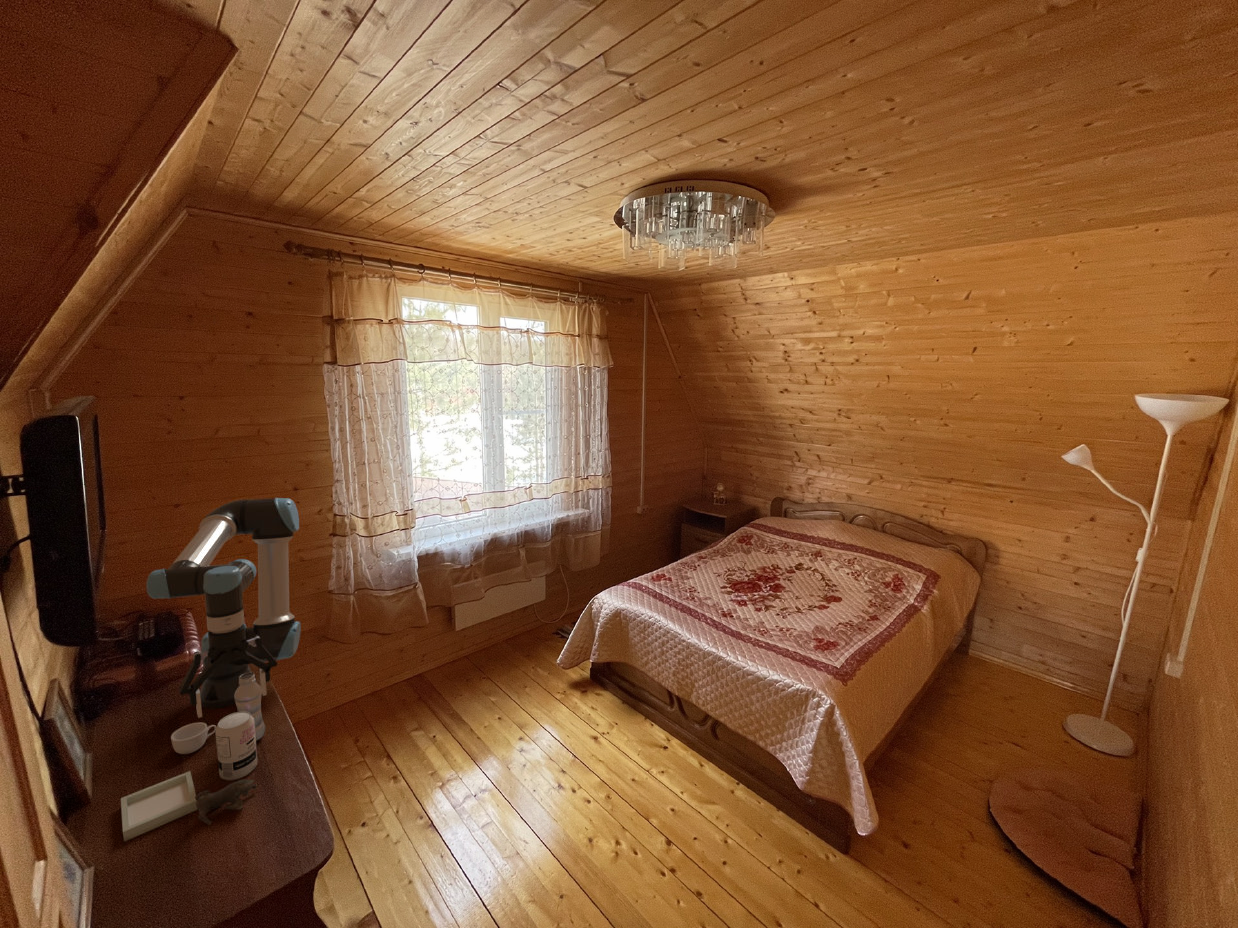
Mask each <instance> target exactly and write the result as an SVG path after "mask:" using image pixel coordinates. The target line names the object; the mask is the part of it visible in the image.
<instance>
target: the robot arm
mask: <svg viewBox="0 0 1238 928" xmlns="http://www.w3.org/2000/svg"><path fill="white" fill-rule="evenodd" d="M295 503H296V502H294V500H292V499H291V498H288V497H287V498H283V497H275V498H254V499H237V500H233V501H230V502H227V503H225V504H222V505H220V506H218V507H216V508H215V509H213V510H212V511H211V512H209V513H208V514H207V515H205V516H204V517H203V519H202V520H201V521H200V523H199V525H198V531H197V532H196V534H194V536H193V537H192V539H191V540H190V541H189V542H188V544H186V546H185V547H184V548H183V550H182V551H181V553H180V554H179V555H178V556H177V557H176V558H175V560H174V562H173V563H172V564H171V565H170V566H169V567H168V568H162V569H155V570H152V571H151V572H150V574H148V576H147V580H146V584H145V585H146V593H147V595H148V597H150V598H151V599H154V600H157V599H168V600H169V599H175V598H183V597H184V598H185V597H193V596H204V602H205V609H206V626H207V632H206V633H205V634H204V635H203V636H202V638H201V643H200V644H201V649H200V651H194V652H193V654H192V662H191V664H190V666H189V668H188V670H187V671H186V674H185V675H184V677H183V679H182V681H181V684H180V686H179V688H178V690H179V691H178V692H179V694H180V695H181V696H183V695H189V704H190V706H196V707H195V708H196V714H197V718H198V719H200V718H203V711H202V708H205V709H221V708H226V707H230V706H233V705H236V703H235V699H234V694H235V691H236V690H237V688H238V687H239V686H240V685H239V677H240V676H241V675H242V674H245V673H253V672H252V670H251V669H250V665H251V664H252V665H254V667H255V666H256V667H257V668H259V670H258V671H259V681H260V682H259V683H260V684H259V685H260V687H261V695H262V697H264V696H267V695H268V694H267V682H270V681H271V669H273V668H274V667H277V666H278V662H277V661H280V660H285V659H289V658H292V657H293V656H295V654H296V653H297V650H298V647H299V642H300V638H301V629H302V627H301V625H302V624H301V622H300V621H297V620H296V619H295V615H294V614H293V613H291V611H290V572H289V571H290V570H289V569H290V567H289V562H290V560H289V542H290V541H291V540H292V539H293V538H294V533H296V532H298V531H299V529H300V518H299V512H298V509H297V506H296V504H295ZM240 535H243V536H244V535H251V538H252V539H251V540H252V542H255V544H257V568H256V565H255V564H254V562H252V561H251V560H248V559H244V558H241V559H240V558H239V559H236V560H233V561H230V562H228V563H227V564H216V565H215V564H214V565H211V564H212V562H213V561H214V560H215V558H216V556H217V555H218V554H219V552H220V551H221V549H222V547H223V546H224V544H226V542H227V541H229V540H231V539H232V538H233V537H234V536H240ZM256 576H257V579H258V582H257V583H258V588H257V589H258V593H257V594H258V617H257V618H256V619H255V620H254V621H253V623H252V625H253V626H250V627H247V625H246V623H245V614H244V599H243V598H244V597H243V593H244V592H245V591H246V590H247V588H249V586H250V585H251V584H252V583H253V581H254V579H255V577H256ZM201 662H202V665H203V666H202V667H203V670H201V672H200V673H199V674H198V676H197V677H196V678H195V679H194V677H195V676H196V674H197V672H198V670H199V668H200V666H201ZM193 679H194V680H193ZM256 679H257V678H255V681H254V682H256V683H257V684H258V682H257V680H256ZM192 681H193V682H192ZM200 688H201V689H200Z"/></svg>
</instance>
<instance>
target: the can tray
mask: <svg viewBox="0 0 1238 928" xmlns="http://www.w3.org/2000/svg"><path fill="white" fill-rule="evenodd" d="M196 795H197V794H196V790H195V785H194V782H193V778H192V772H191V770H189V771H187V772H186V771H185V772H184V773H182V774H178V775H176V776H174V777H171V778H169V779H166V780H164V781H161V782H159V783H156V784H154V785H151V786H149V787H145V788H144V789H141V790H138V791H136V792H134V793H133V792H132V793H131V794H127V795H126V796H123V797H121V798H120V807H121V824H122V835H123V841H124V843H125V842H126V841H129V840H131V839H133V838H136V837H137V836H138V837H139V836H140V835H142V834H146V833H147V832H150V831H152V830H154V829H156V828H158V827H161V826H163V825H165V824H168V823H170V822H172V821H174V820H177V819H179V818H181V817H184V816H186V815H188V814H191V813H192V812H193V813H194V811H197V810H198V809H197V806H196V802H197V800H196V799H195V796H196ZM198 811H199V810H198Z"/></svg>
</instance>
